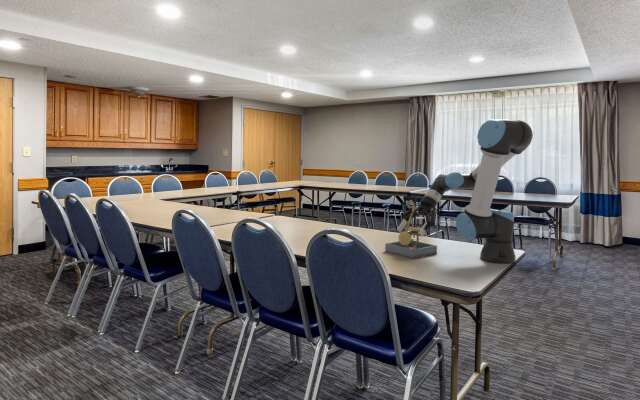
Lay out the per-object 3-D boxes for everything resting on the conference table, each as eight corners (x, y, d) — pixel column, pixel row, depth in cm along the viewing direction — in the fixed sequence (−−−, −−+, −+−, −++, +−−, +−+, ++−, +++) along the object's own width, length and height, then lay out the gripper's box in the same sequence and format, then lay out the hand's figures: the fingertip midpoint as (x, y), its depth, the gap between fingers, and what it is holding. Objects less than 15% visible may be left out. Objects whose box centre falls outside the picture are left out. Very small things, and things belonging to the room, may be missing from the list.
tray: (436, 253, 208) (437, 245, 208) (412, 258, 198) (412, 250, 197) (409, 247, 222) (409, 239, 222) (385, 251, 212) (385, 243, 211)
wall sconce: (412, 254, 202) (414, 201, 199) (395, 251, 208) (396, 200, 205) (427, 249, 212) (428, 199, 209) (410, 246, 218) (411, 198, 216)
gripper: (454, 207, 207) (433, 241, 200) (414, 202, 227) (394, 233, 220) (448, 197, 203) (426, 231, 196) (408, 193, 223) (387, 224, 216)
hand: (409, 232), depth 208 cm, fingers open, 13 cm apart
